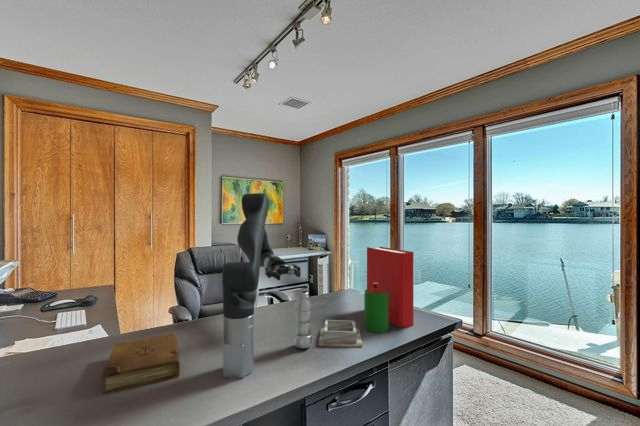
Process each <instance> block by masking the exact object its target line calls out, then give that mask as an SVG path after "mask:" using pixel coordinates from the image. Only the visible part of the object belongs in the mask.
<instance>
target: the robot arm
mask: <svg viewBox="0 0 640 426" xmlns="http://www.w3.org/2000/svg"><path fill="white" fill-rule="evenodd" d="M269 208H270V198H269V196H268V195H267V194H266V193H263V192H258V193H257V192H256V193H246V194H243V195H242V197H241V209H242V212H243V213H242V214H243V215H244V218H245V220H244V221H243V222H241V224H240V226H239V229H238V233H237V240H236V241H237V244H238V247H239V248H240V250H241V251H242V253H244V254H245V255H246V257H247V259H248V261H241V262H237V261H235V262H233V261H232V262H230V261H229V262H227V263H225V264H224V266H223V269H222V274H221V285H222V287H221V288H222V310H223V311H222V313H223V314H222V317H223V318H222V320H223V321H222V323H223V325H222V375H223V378H239V379H244V378H245V377H246V376H248V375H250V374H251V373H252V372H253V371H254V369H255V367H254V366H255V364H254V363H255V359H254V358H255V356H254V355H255V345H254V344H255V305H254V304H253V303H252V302H251V301H248V300H245V299H243V298H241V297H239V295H237V293H238V294H239V293H253V292H256V290H257V289H258V285H259V281H260V270H261V267H264V275H265V276H266V277H267V278H268V279H271V278H273V279H275V280H277V281H281V276H282V275H288V276H292V275H294V276H295V277H297V278H300V277H301V273H302V272H301V267H300V266H298V265H297V264H295V263H293V264H292V265H288V264H287V263H286V261H285V260H284V259H282V258H281V257H279V256H278V255H276V254H275V253H274V251H273V248H272V247H271V245H270V243H269V238H268V233H267V231H266V228H265V227H266V221H267V217H268V212H269V210H270V209H269Z"/></svg>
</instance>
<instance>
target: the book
mask: <svg viewBox="0 0 640 426" xmlns="http://www.w3.org/2000/svg"><path fill="white" fill-rule="evenodd" d="M374 282H377V283H378V293H382V294H384V293H386V292H387V291H388V292H389V323H391V324H393V325H395V326H396V327H398V328H407V327H413V326H414V251H411V250H404V249H397V248H390V247H386V246H379V247H378V248H375V247H374V248H373V247H366V290H368V293H374V289H373V283H374Z"/></svg>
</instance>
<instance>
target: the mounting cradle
mask: <svg viewBox="0 0 640 426" xmlns="http://www.w3.org/2000/svg"><path fill="white" fill-rule="evenodd" d="M356 326H357V325H356V321H355V320H354V319H353V320H352V319H351V320H348V319H345V320H344V319H325V322H324V327H321V328H320V331H319V336H318V337H319V338H318V347H328V348H329V347H330V348H331V347H333V348H335V347H336V348H363V342H362V336H361V331H360V328H357V327H356Z"/></svg>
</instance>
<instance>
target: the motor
mask: <svg viewBox="0 0 640 426" xmlns="http://www.w3.org/2000/svg"><path fill="white" fill-rule="evenodd" d="M373 289H374V293H368V290H367V289H365V290H364V295H363V296H364V297H363V298H364V300H363V301H364V303H363V304H364V312H363V313H364V316H363V317H364V321H363V322H364V327H363V328H364V329H365V330H366V331H368V332H371V333H379V334H380V333H385V332H388V331H389V329H390V327H389V323H390V322H389V292H388V291H387V292H386V293H384V294H382V293H378V283H377V282H374V283H373Z"/></svg>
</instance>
